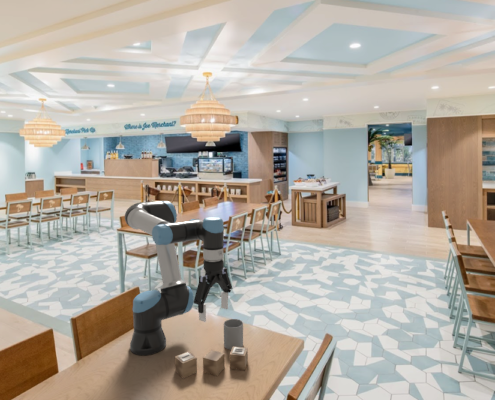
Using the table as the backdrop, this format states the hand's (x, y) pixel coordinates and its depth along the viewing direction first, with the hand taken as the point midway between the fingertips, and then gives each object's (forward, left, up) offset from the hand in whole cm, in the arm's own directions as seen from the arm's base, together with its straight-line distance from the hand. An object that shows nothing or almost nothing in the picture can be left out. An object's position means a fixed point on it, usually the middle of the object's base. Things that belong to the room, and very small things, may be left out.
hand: (214, 314), depth 130 cm
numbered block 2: (+6, +8, -22) cm, 24 cm away
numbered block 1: (-8, -7, -22) cm, 25 cm away
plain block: (0, 0, -22) cm, 22 cm away
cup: (-5, +19, -22) cm, 30 cm away
